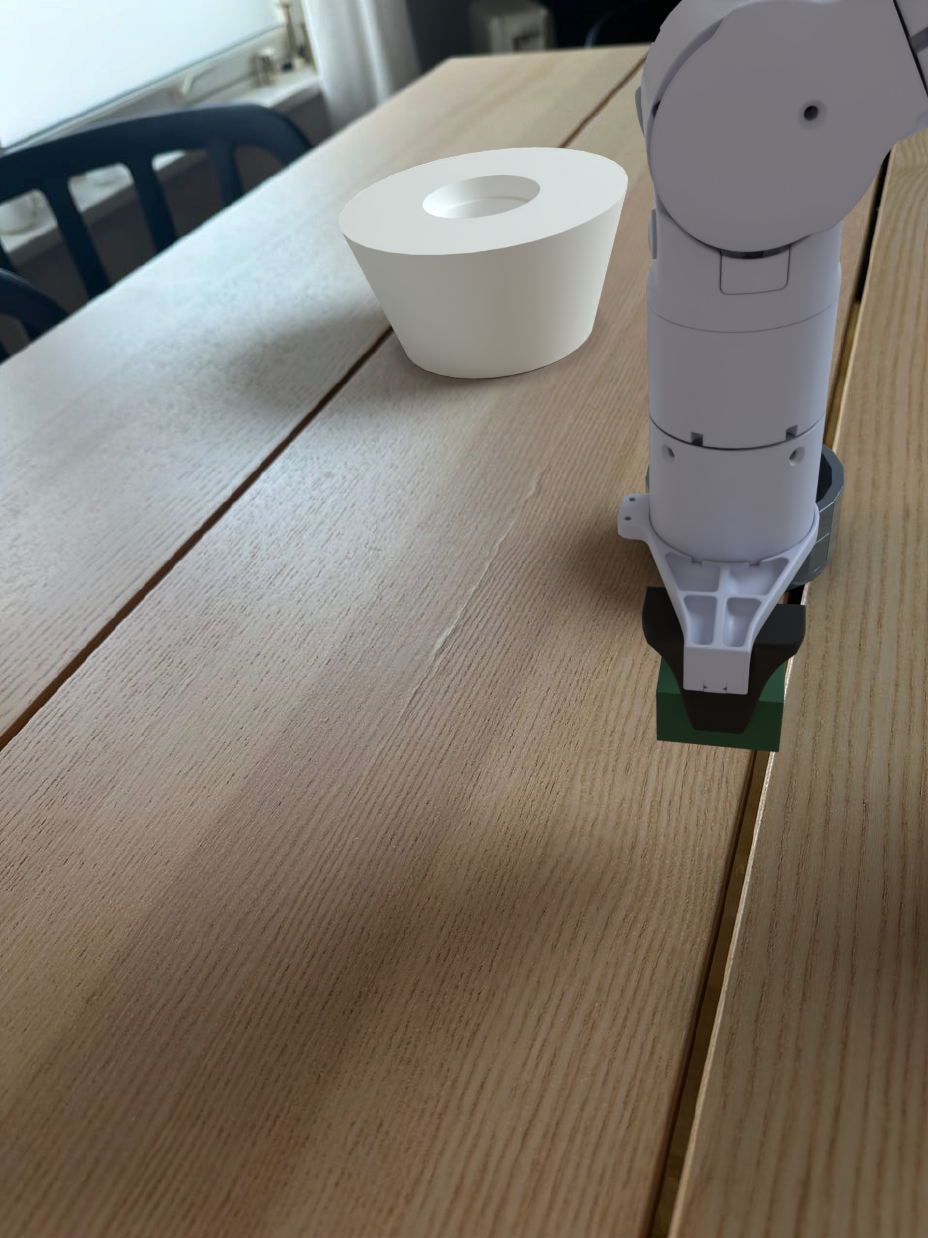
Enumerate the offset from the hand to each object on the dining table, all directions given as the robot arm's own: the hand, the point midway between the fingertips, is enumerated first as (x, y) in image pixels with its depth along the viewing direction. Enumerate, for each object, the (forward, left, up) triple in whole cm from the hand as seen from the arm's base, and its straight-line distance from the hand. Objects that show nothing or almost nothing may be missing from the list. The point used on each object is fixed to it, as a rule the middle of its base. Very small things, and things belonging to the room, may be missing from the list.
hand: (721, 689), depth 41 cm
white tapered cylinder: (+23, -50, -9) cm, 56 cm away
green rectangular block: (0, 0, -2) cm, 2 cm away
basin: (0, -21, -8) cm, 23 cm away
